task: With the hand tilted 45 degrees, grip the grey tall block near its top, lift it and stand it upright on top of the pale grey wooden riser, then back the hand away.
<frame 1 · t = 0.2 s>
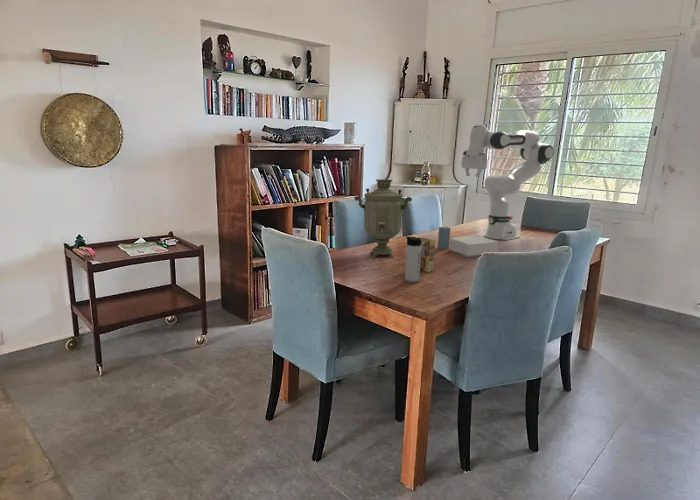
hand: (472, 176, 276), 39 cm above the table, tool pointing down, fingers open, 8 cm apart
travel mug: (411, 281, 204), on the table
riser: (473, 252, 256), on the table
grey tall block: (443, 248, 265), on the table
candy box: (423, 270, 221), on the table
samovar: (379, 256, 244), on the table
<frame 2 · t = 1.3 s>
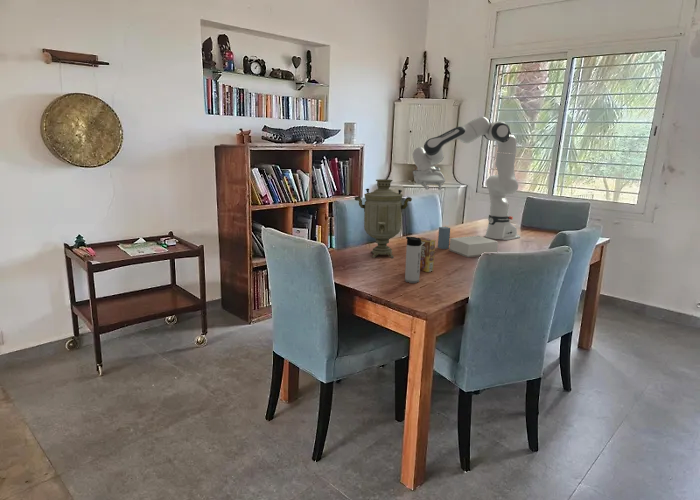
hand: (433, 189, 272), 32 cm above the table, tool tilted 45°, fingers open, 8 cm apart
nothing on the table moved.
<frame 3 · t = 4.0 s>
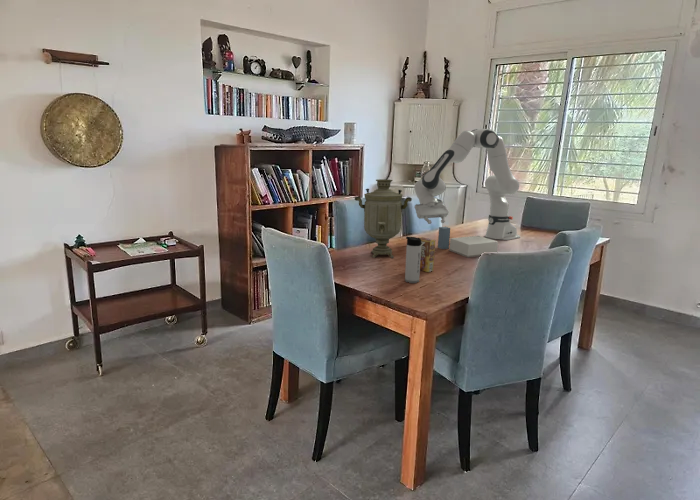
hand: (436, 222, 268), 13 cm above the table, tool tilted 45°, fingers open, 8 cm apart
nothing on the table moved.
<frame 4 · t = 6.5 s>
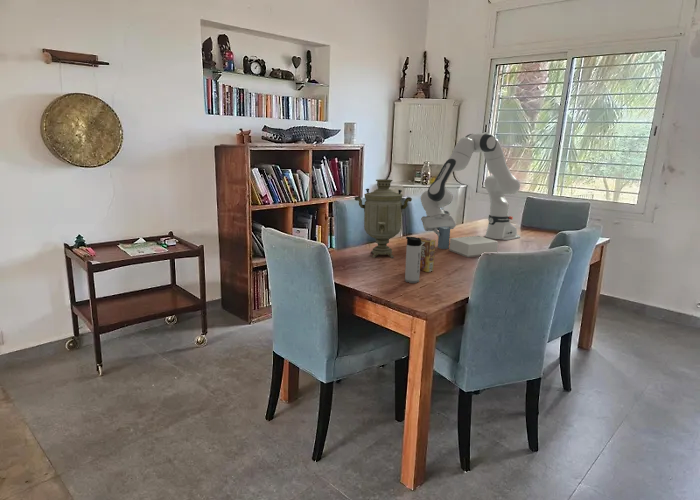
hand: (444, 235, 263), 7 cm above the table, tool tilted 45°, fingers closed on grey tall block, 4 cm apart
grey tall block: (443, 248, 265), on the table, touching gripper
everything else where it was.
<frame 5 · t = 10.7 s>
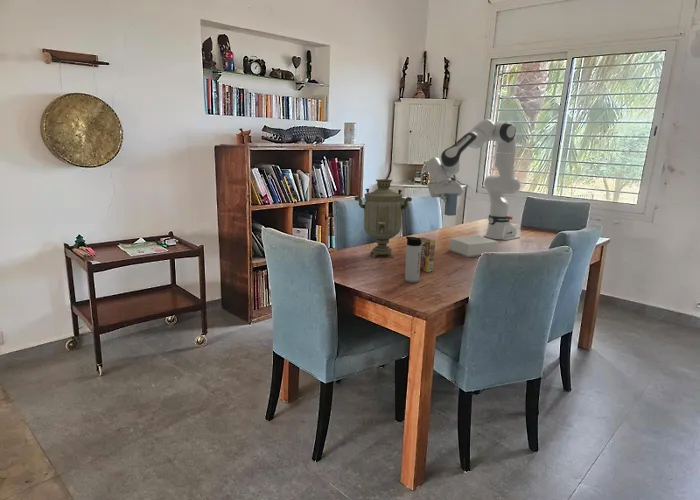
hand: (450, 201, 257), 27 cm above the table, tool tilted 45°, fingers closed on grey tall block, 4 cm apart
grey tall block: (450, 214, 259), point 20 cm above the table, touching gripper
everything else where it was.
when the fingers open (16 cm above the table, at t = 14.9 s): grey tall block drops 1 cm, resting on riser.
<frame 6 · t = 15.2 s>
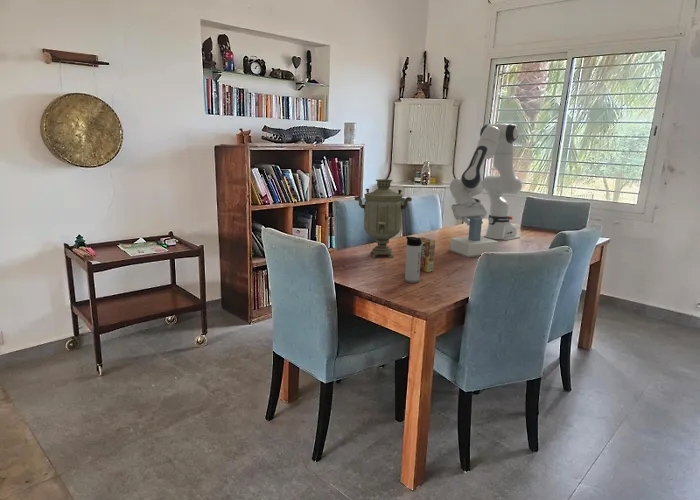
hand: (475, 224, 252), 16 cm above the table, tool tilted 45°, fingers open, 7 cm apart
grey tall block: (474, 239, 255), point 7 cm above the table, touching riser
everything else where it was.
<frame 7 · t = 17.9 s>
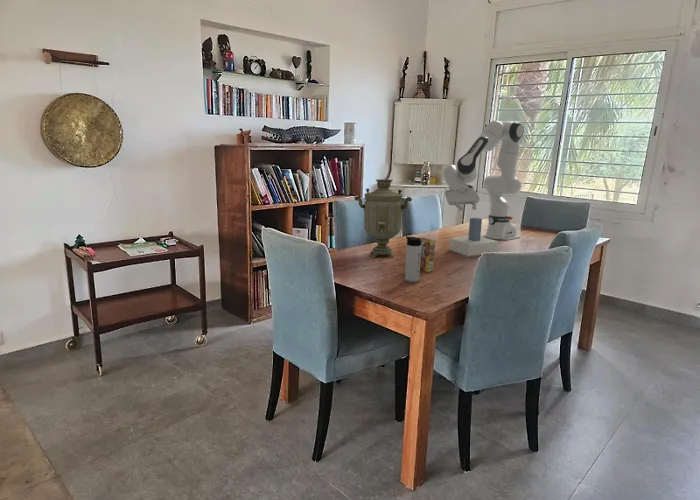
hand: (468, 209, 257), 23 cm above the table, tool tilted 45°, fingers open, 8 cm apart
nothing on the table moved.
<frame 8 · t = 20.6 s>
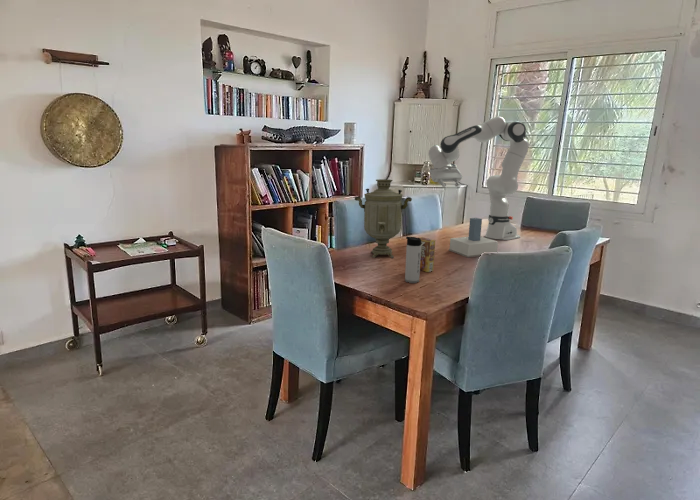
hand: (451, 186, 276), 33 cm above the table, tool tilted 45°, fingers open, 8 cm apart
nothing on the table moved.
at the end: grey tall block inside the target area on the riser (0.0 cm from its centre), point 7.0 cm above the riser's base; grey tall block tilted 0°; the gripper is holding nothing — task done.
